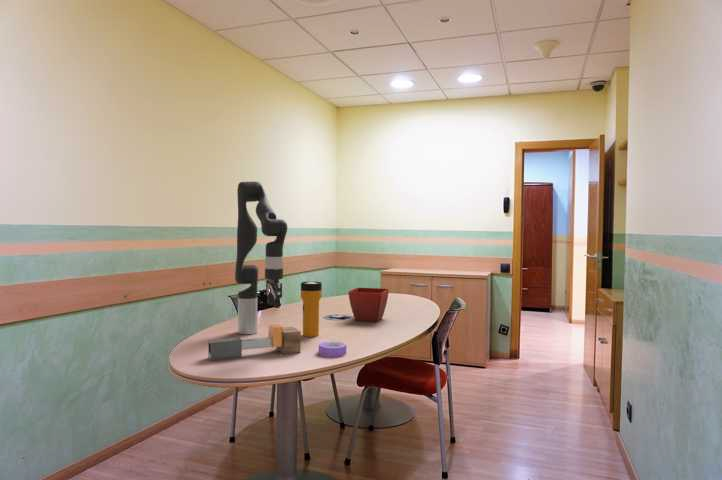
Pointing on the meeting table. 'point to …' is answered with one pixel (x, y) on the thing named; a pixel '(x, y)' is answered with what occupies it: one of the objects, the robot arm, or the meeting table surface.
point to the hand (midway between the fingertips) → (273, 306)
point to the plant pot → (368, 303)
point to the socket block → (290, 340)
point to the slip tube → (265, 339)
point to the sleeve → (224, 349)
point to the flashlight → (311, 307)
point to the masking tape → (332, 349)
